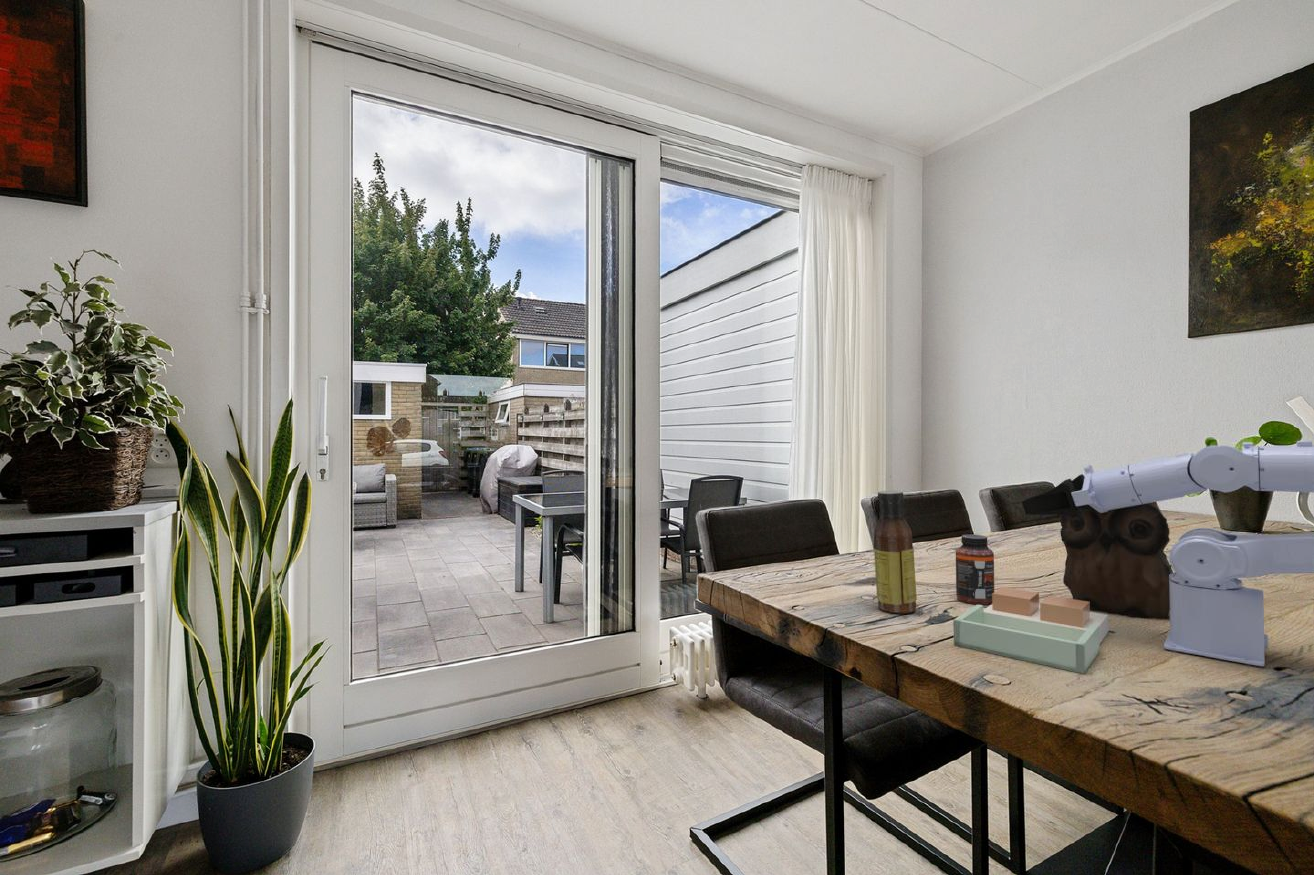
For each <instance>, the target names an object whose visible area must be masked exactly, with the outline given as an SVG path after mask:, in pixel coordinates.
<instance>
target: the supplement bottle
mask: <svg viewBox="0 0 1314 875" xmlns="http://www.w3.org/2000/svg"><path fill="white" fill-rule="evenodd" d="M960 543H961V544H962V545H960V546H959V547H957V548H956V549H955V588H956V589H955V590H956V592H955V593H956V598H957V599H958V600H960V601H961V602H965V603H968V604H975V605H977V604H978V605H991V604H992V593H994V592H995V555H994V552H993V550H992V549H991V548H989V547H988V537H987V536H986V535H981V534H963V535H961V541H960Z"/></svg>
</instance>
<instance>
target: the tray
mask: <svg viewBox="0 0 1314 875" xmlns="http://www.w3.org/2000/svg"><path fill="white" fill-rule="evenodd" d="M983 610H984V604H975V605H974V606H973V607H971V608H969V609H968V610H966V611H965V612H963V613H962V614H960V615H959V616H957V617H956V618H954V619H953V620H952V621H953V624H952V625H953V645H954V646H956V647H957V646H958V647H961V648H965V649H970V650H975V651H979V652H984V653H989V654H994V655H999V656H1002V657H1007V658H1010V659H1016V660H1020V661H1025V662H1029V663H1033V664H1037V665H1043V666H1048V667H1052V668H1055V669H1056V668H1057V669H1061V670H1065V671H1071V672H1075V673H1078V674H1082V675H1084V674H1085V673H1086V672H1087V670H1088V669H1089V667H1090V666H1091V664H1092V663H1093V662H1094V660H1095V659H1096V657H1097V655H1099V653H1100V644H1099V625H1094V624H1091V626H1090V627H1089V628H1088V629H1087V630H1086V632H1085V633H1084V634H1083V635H1082V636H1081V638H1080V639H1079V640H1078V641H1077V642H1075V641H1070V640H1064V639H1059V638H1054V637H1049V636H1044V635H1038V634H1033V633H1028V632H1023V631H1018V630H1012V629H1007V628H1002V627H997V626H991V625H986V624H983Z"/></svg>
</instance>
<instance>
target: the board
mask: <svg viewBox="0 0 1314 875" xmlns="http://www.w3.org/2000/svg"><path fill="white" fill-rule="evenodd" d="M983 624H986V625H991V626H997V627H1002V628H1007V629H1012V630H1018V631H1023V632H1028V633H1033V634H1038V635H1044V636H1049V637H1054V638H1059V639H1064V640H1070V641H1075V642H1077V641H1078V640H1079V639H1080V638H1081V636H1082V635H1083V634H1084V633H1085V632H1086V630H1087V629H1088V628H1089V627H1090V626H1091V624H1094V625H1099V645H1100V644H1101V643H1102V641H1103V640H1104V639H1105V637H1106V636H1107V634H1109V614H1105V613H1099V612H1094V611H1090V620H1089V621H1088V622H1087V623H1086V624H1085V626H1084V627H1083V628H1081V627H1076V626H1070V625H1064V624H1059V623H1053V622H1047V621H1042V620H1040V603H1039V610H1037V611H1036V612H1035V613H1034V614H1033V615H1032V616H1024V615H1018V614H1013V613H1007V612H1001V611H995V610H993V608H992V604H989V606H987V607H986V608H983Z"/></svg>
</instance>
